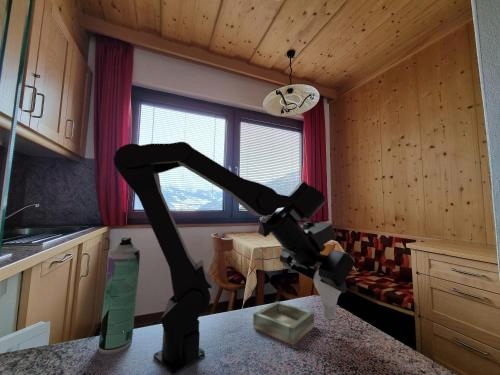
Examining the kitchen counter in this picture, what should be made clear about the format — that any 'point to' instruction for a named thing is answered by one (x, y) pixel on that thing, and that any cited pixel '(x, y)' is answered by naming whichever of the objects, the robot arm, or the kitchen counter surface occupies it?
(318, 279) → the lightbulb
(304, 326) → the open box
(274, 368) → the kitchen counter surface
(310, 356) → the kitchen counter surface
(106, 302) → the spray can
